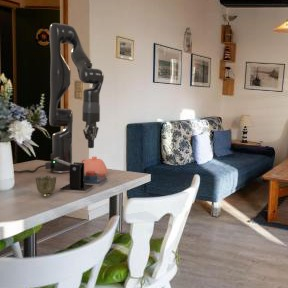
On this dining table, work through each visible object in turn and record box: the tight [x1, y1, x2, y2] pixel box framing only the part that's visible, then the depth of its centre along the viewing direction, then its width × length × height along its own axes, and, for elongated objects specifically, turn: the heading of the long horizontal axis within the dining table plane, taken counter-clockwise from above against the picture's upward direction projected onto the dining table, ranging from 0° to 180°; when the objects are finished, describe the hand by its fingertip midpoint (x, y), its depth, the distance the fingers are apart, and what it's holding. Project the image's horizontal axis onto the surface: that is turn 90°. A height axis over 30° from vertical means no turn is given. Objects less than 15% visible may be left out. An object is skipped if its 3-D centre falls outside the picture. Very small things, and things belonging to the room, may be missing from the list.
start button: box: [86, 171, 95, 176], centre depth 179 cm, size 4×4×2 cm
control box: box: [84, 173, 108, 185], centre depth 179 cm, size 12×10×4 cm
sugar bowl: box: [80, 156, 108, 176], centre depth 192 cm, size 12×14×10 cm
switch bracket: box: [59, 161, 94, 192], centre depth 166 cm, size 11×9×12 cm
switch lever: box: [50, 157, 82, 167], centre depth 165 cm, size 12×5×2 cm, turn 92°
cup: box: [35, 175, 57, 197], centre depth 153 cm, size 8×7×8 cm
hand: (90, 147), depth 177 cm, fingers closed
